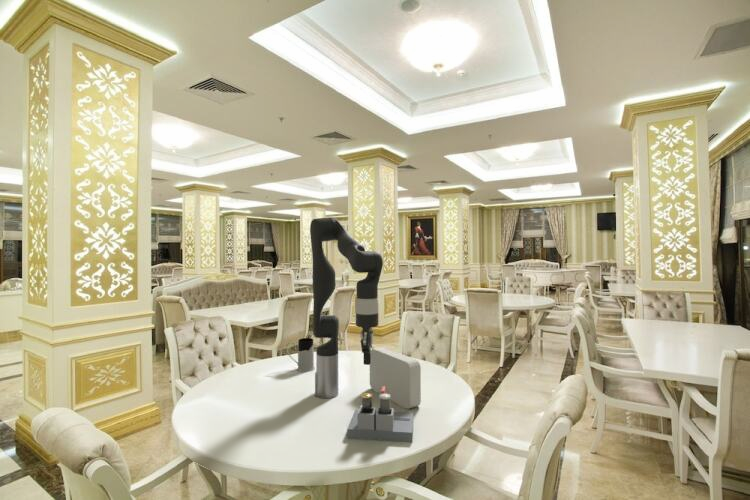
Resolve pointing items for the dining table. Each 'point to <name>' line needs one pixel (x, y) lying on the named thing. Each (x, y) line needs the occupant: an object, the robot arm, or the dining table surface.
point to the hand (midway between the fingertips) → (367, 363)
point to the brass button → (366, 402)
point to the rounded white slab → (396, 376)
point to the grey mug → (305, 354)
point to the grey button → (385, 403)
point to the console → (381, 425)
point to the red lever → (383, 390)
